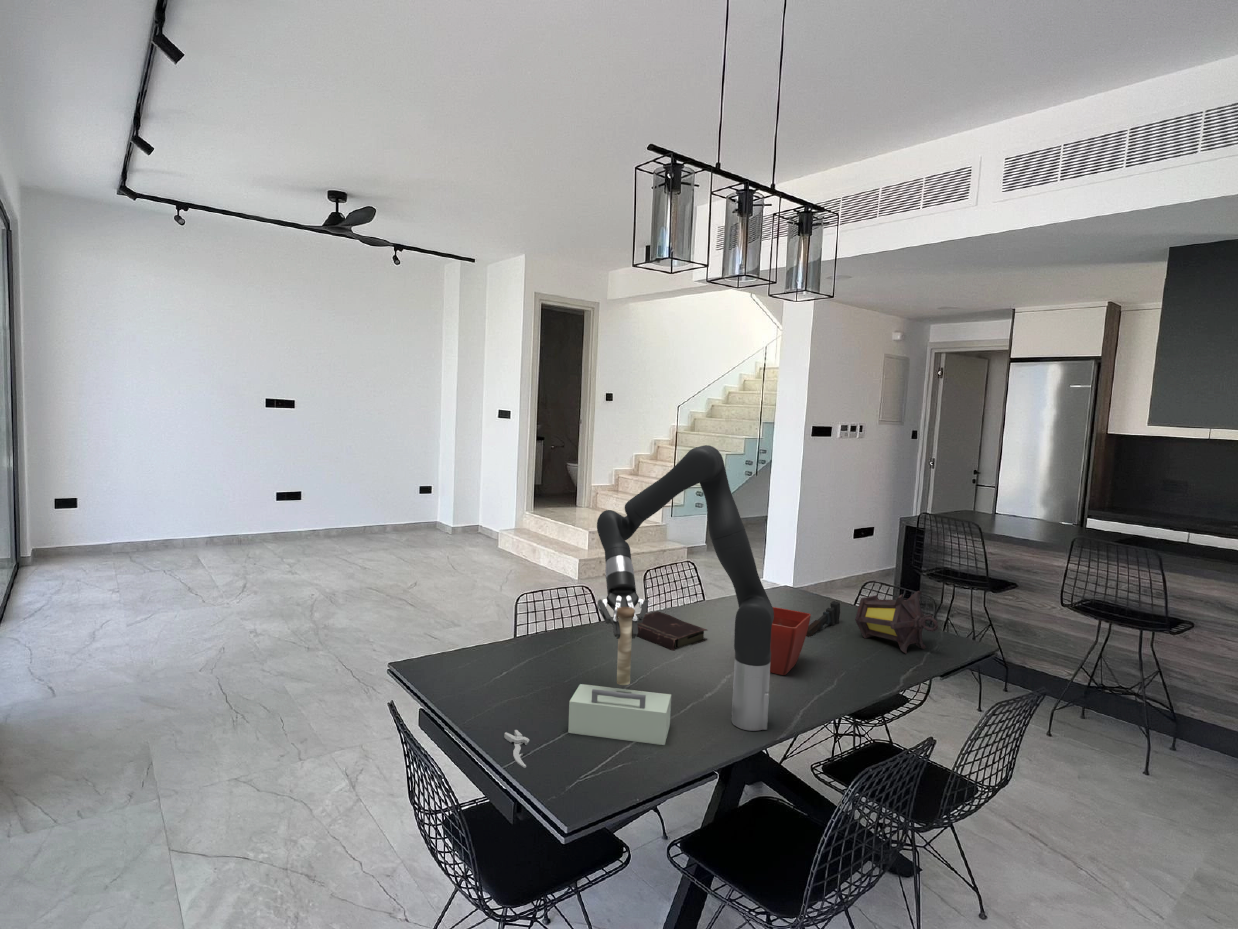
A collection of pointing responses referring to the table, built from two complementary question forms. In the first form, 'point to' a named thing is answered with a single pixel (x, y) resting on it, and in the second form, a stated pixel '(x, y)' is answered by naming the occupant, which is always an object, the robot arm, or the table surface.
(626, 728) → the toolbox
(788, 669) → the plant pot
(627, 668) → the beige long cylinder
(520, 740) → the pliers
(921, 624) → the lantern
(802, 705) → the table surface
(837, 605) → the dark stepped piece
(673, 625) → the diary
